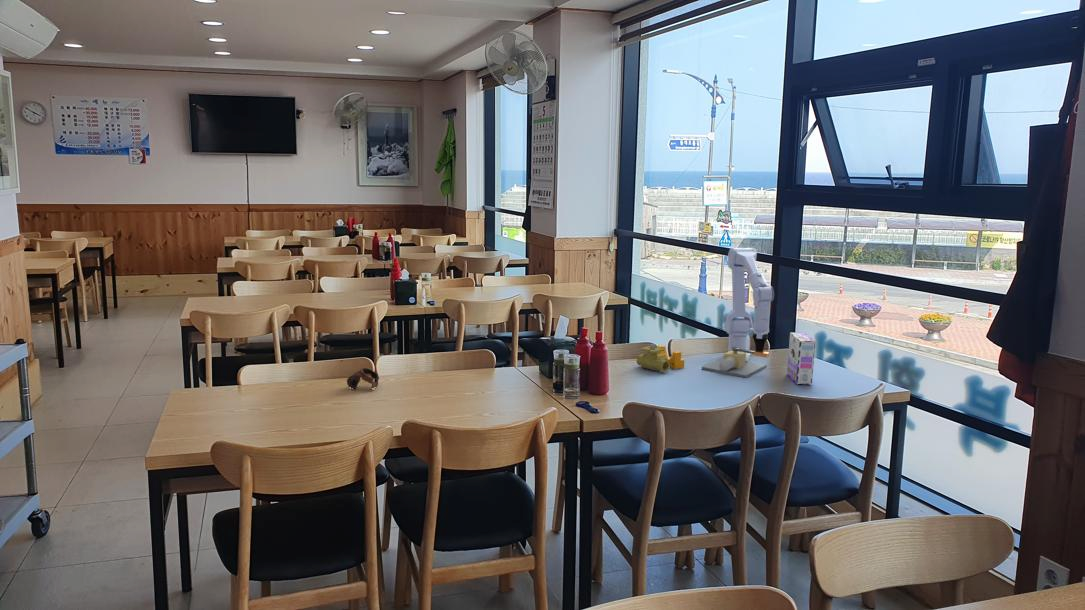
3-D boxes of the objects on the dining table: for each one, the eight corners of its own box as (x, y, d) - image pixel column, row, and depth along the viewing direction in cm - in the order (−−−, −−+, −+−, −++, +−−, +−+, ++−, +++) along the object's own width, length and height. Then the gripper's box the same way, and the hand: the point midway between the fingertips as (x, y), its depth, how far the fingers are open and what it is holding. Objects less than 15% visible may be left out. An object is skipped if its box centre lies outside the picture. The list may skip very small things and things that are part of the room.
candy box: (812, 385, 294) (816, 341, 291) (796, 385, 294) (799, 340, 291) (802, 374, 307) (805, 332, 304) (786, 374, 308) (789, 331, 304)
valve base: (723, 359, 328) (724, 342, 326) (766, 367, 317) (767, 349, 315) (701, 369, 313) (702, 351, 311) (746, 378, 302) (747, 359, 301)
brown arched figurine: (357, 384, 289) (369, 365, 288) (375, 400, 285) (387, 381, 284) (335, 384, 278) (347, 364, 277) (353, 401, 274) (365, 381, 273)
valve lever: (730, 351, 313) (731, 347, 313) (733, 349, 315) (733, 346, 315) (766, 357, 305) (766, 353, 304) (769, 356, 307) (769, 352, 306)
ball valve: (633, 368, 313) (634, 342, 311) (651, 363, 320) (652, 338, 318) (659, 375, 304) (660, 349, 302) (677, 370, 311) (678, 344, 309)
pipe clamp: (684, 368, 315) (684, 351, 313) (674, 369, 313) (675, 353, 311) (665, 360, 325) (666, 344, 324) (656, 361, 323) (657, 345, 322)
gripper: (752, 313, 316) (750, 347, 319) (749, 321, 302) (746, 356, 305) (771, 315, 314) (768, 349, 316) (768, 322, 300) (766, 358, 303)
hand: (759, 353), depth 311 cm, fingers closed
